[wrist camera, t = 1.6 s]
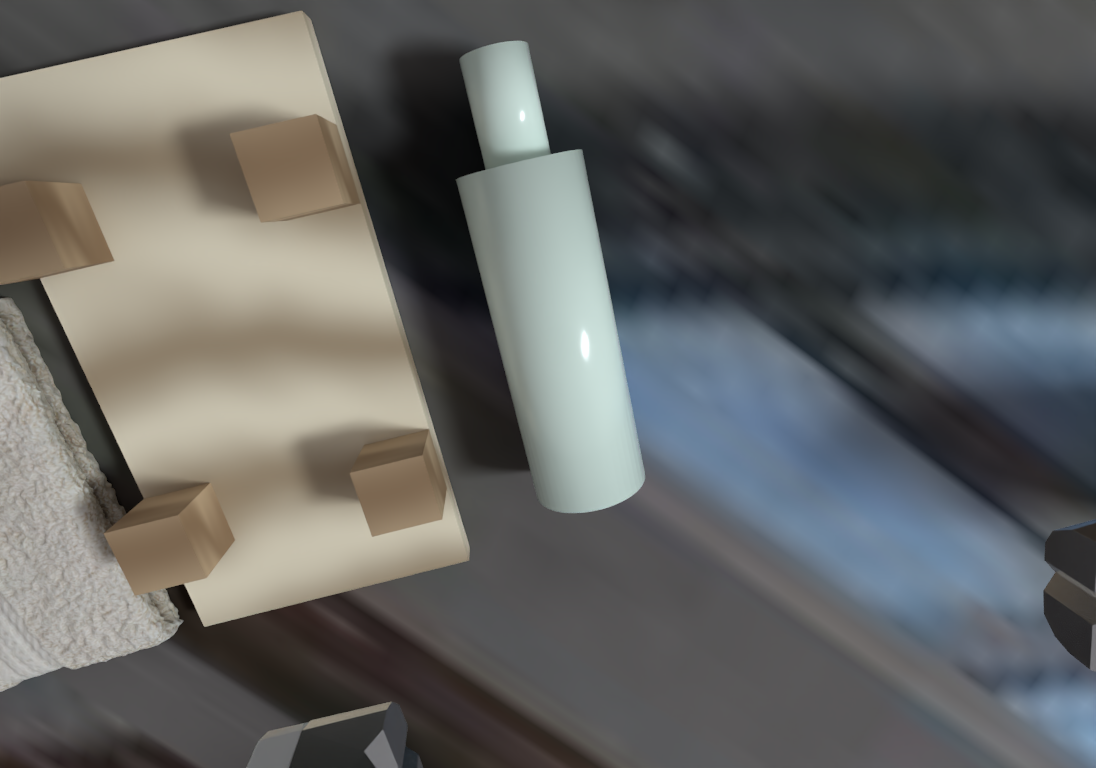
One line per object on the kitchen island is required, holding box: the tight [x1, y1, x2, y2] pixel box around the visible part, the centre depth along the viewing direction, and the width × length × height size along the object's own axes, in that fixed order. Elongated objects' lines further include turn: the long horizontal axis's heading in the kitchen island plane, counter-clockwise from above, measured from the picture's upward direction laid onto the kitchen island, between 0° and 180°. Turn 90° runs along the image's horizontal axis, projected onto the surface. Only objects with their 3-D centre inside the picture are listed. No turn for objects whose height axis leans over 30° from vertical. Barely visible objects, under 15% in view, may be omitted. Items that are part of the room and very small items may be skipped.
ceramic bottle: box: [456, 41, 645, 513], centre depth 25 cm, size 18×5×5 cm, turn 13°
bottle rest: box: [0, 11, 470, 627], centre depth 25 cm, size 24×13×4 cm, turn 13°
